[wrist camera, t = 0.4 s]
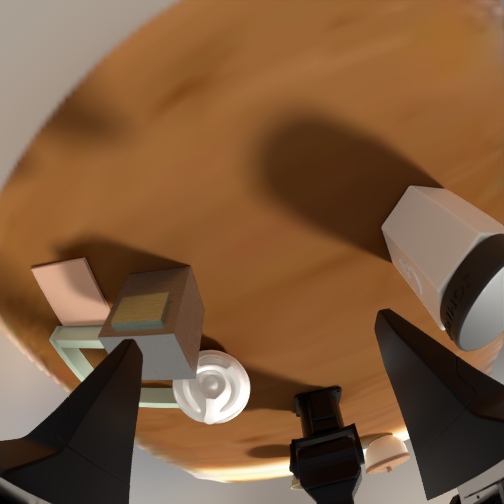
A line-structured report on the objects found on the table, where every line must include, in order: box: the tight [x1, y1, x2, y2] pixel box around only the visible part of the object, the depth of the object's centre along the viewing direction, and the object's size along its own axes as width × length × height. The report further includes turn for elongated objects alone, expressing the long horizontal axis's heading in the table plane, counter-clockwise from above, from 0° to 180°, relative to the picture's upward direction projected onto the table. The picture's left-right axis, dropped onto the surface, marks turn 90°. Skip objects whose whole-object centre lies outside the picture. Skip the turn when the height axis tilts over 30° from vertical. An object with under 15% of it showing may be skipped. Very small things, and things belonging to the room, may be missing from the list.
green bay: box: [49, 325, 180, 408], centre depth 29 cm, size 13×13×2 cm
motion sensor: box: [173, 350, 250, 424], centre depth 26 cm, size 8×8×8 cm
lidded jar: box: [364, 435, 410, 474], centre depth 46 cm, size 11×11×9 cm
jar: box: [381, 185, 504, 351], centre depth 17 cm, size 9×8×12 cm
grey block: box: [98, 266, 205, 380], centre depth 21 cm, size 5×6×8 cm
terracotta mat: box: [31, 257, 110, 326], centre depth 25 cm, size 8×8×1 cm
